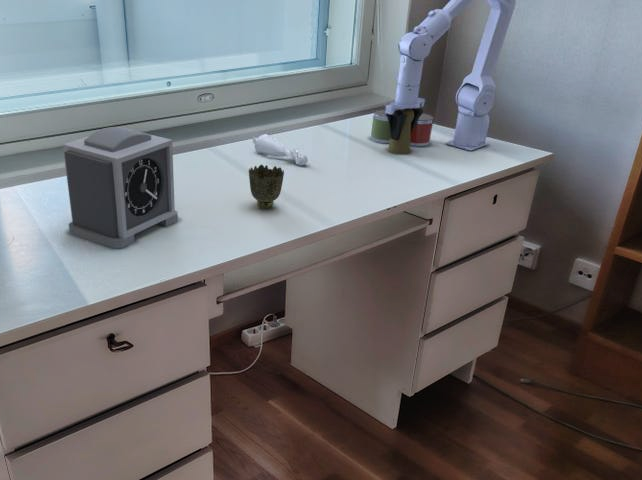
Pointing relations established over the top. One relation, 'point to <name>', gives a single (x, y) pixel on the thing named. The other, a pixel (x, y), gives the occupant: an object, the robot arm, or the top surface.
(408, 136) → the cork
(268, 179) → the cup
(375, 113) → the green tin
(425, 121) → the red tin
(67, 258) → the top surface
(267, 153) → the woman figurine
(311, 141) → the top surface
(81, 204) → the alarm clock
